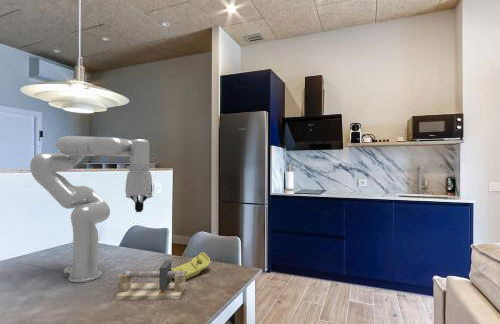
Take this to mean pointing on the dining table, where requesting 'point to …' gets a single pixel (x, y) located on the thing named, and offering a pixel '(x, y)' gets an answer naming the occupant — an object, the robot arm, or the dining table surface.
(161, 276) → the collar
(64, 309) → the dining table surface
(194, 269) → the plastic component
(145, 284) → the pipe stand
